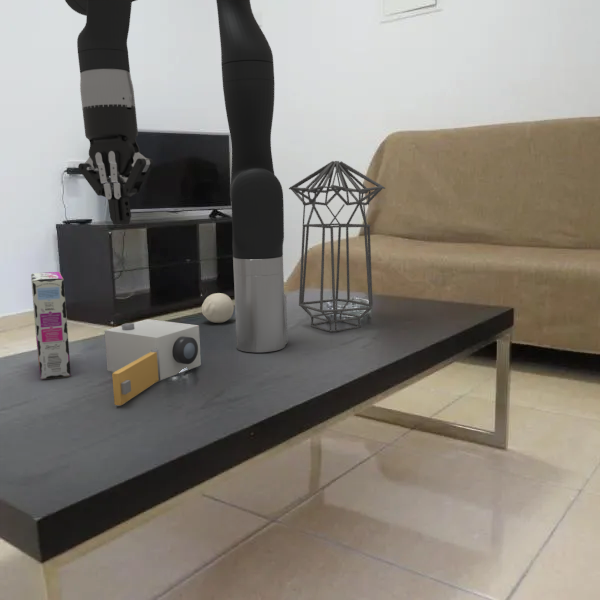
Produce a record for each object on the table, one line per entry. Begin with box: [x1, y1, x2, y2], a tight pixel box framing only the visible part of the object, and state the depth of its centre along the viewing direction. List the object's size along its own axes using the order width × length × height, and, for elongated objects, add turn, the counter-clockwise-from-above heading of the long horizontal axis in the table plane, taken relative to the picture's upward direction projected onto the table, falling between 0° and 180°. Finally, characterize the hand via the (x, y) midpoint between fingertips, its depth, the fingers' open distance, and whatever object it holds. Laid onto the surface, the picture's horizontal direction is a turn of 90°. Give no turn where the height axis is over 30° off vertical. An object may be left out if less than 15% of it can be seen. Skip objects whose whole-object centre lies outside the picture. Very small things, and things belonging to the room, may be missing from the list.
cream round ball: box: [201, 292, 235, 324], centre depth 145 cm, size 7×7×7 cm
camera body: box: [103, 318, 202, 381], centre depth 109 cm, size 10×14×8 cm
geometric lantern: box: [288, 160, 386, 333], centre depth 136 cm, size 16×16×35 cm
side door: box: [111, 349, 162, 406], centre depth 96 cm, size 13×2×5 cm, turn 167°
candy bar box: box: [30, 271, 72, 380], centre depth 109 cm, size 11×5×16 cm, turn 23°
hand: (121, 224), depth 98 cm, fingers closed
